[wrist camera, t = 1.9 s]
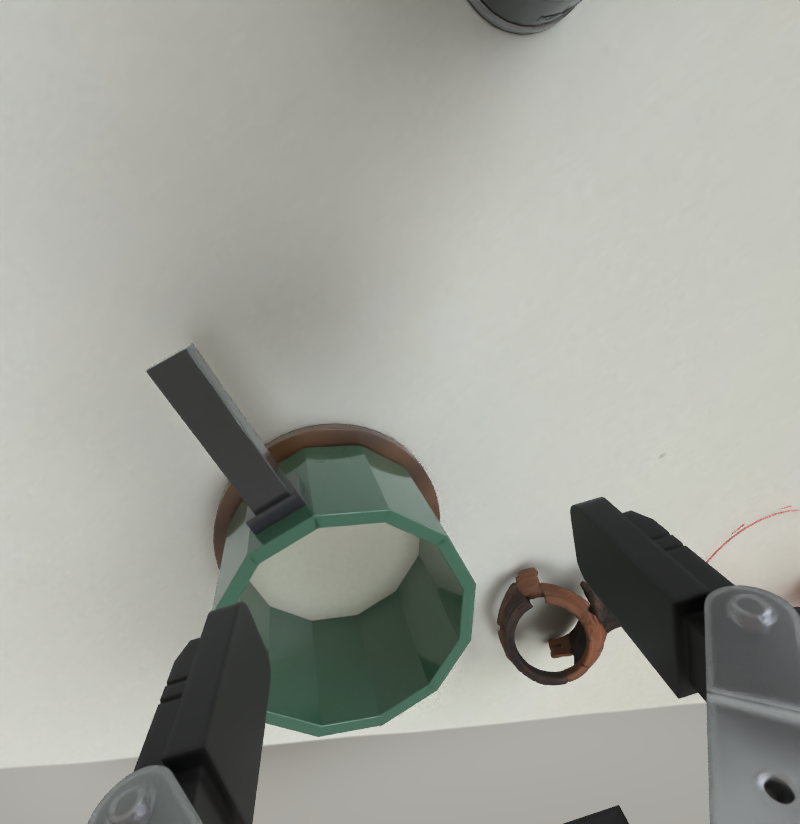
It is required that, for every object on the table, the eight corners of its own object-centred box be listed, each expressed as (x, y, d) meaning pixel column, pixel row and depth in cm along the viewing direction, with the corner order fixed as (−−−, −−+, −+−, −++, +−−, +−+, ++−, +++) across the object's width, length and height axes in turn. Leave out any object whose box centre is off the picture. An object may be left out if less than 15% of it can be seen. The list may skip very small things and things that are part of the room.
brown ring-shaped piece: (526, 663, 48) (529, 716, 40) (479, 575, 49) (472, 609, 41) (645, 614, 45) (673, 660, 37) (593, 522, 46) (609, 547, 38)
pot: (456, 555, 40) (511, 644, 30) (299, 652, 39) (306, 773, 30) (295, 279, 31) (301, 285, 22) (88, 396, 30) (3, 454, 21)
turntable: (163, 515, 35) (160, 524, 34) (359, 378, 35) (362, 381, 34) (307, 656, 41) (307, 667, 40) (472, 537, 42) (477, 545, 40)
